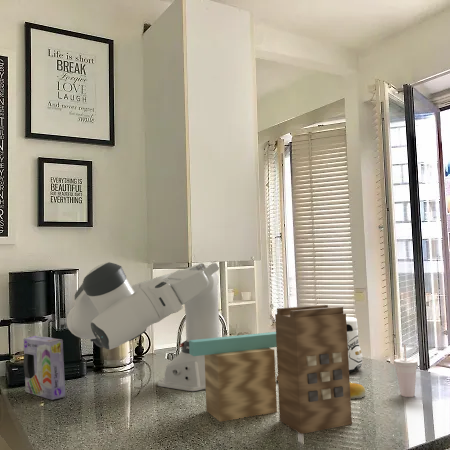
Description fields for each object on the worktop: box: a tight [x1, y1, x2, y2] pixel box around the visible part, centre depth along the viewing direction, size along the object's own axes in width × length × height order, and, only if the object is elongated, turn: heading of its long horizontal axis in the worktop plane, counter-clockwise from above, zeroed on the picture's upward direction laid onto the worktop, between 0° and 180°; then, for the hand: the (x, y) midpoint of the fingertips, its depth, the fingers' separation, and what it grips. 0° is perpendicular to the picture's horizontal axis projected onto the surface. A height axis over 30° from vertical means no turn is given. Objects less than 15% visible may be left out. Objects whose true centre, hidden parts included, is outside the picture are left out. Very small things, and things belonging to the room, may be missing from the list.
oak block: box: [205, 348, 278, 423], centre depth 126 cm, size 16×10×16 cm, turn 112°
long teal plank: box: [189, 331, 277, 356], centre depth 126 cm, size 26×4×4 cm, turn 112°
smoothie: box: [393, 344, 418, 398], centre depth 135 cm, size 6×6×14 cm
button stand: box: [274, 304, 353, 435], centre depth 115 cm, size 14×11×28 cm
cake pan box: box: [23, 335, 66, 401], centre depth 149 cm, size 19×5×18 cm, turn 47°
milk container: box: [346, 316, 363, 373], centre depth 168 cm, size 17×17×18 cm
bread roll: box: [350, 382, 366, 400], centre depth 137 cm, size 8×9×4 cm
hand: (210, 265), depth 112 cm, fingers open, 8 cm apart
